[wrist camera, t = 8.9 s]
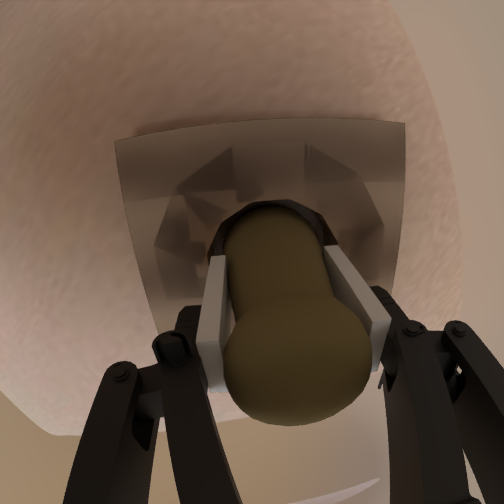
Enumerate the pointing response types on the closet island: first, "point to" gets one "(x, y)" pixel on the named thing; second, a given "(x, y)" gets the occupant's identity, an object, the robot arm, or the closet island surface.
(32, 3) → the closet island surface
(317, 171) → the socket block
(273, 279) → the olive green knobbed peg
